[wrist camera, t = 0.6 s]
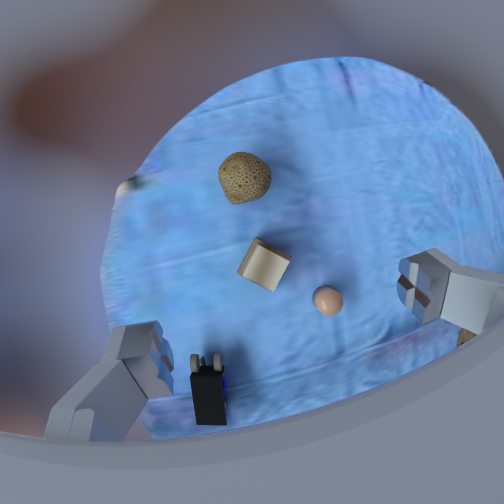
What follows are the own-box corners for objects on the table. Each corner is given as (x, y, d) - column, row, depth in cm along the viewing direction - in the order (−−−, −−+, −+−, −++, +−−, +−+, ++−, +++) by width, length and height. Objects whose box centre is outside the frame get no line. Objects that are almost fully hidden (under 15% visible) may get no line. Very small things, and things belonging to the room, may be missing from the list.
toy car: (192, 347, 59) (200, 411, 58) (184, 357, 51) (195, 427, 50) (224, 346, 59) (231, 410, 58) (221, 356, 51) (229, 426, 50)
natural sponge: (266, 158, 56) (270, 142, 46) (271, 203, 56) (277, 196, 46) (219, 163, 55) (214, 148, 46) (223, 208, 56) (219, 202, 46)
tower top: (285, 259, 52) (289, 261, 47) (270, 286, 52) (273, 291, 47) (257, 244, 52) (259, 245, 47) (242, 272, 52) (242, 276, 47)
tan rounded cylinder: (339, 295, 57) (348, 300, 52) (325, 313, 57) (332, 320, 52) (322, 280, 57) (329, 284, 52) (307, 300, 57) (313, 305, 52)
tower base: (287, 255, 57) (291, 256, 52) (269, 287, 57) (272, 291, 52) (254, 238, 57) (255, 238, 52) (237, 270, 57) (236, 273, 52)
